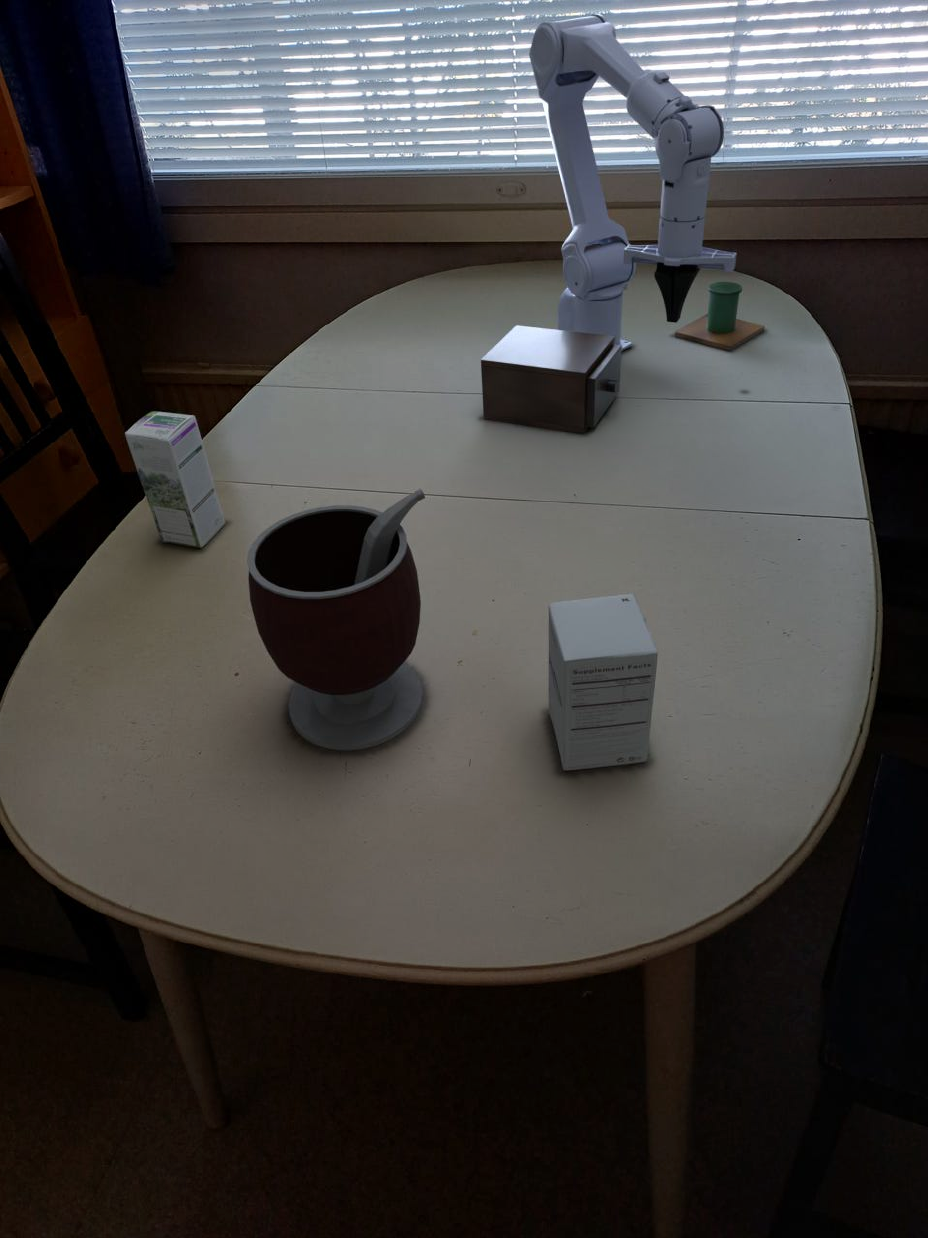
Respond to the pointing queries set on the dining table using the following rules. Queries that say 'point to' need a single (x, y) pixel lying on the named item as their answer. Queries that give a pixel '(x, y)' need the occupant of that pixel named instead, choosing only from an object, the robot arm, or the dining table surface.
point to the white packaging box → (601, 681)
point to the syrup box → (176, 478)
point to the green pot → (723, 307)
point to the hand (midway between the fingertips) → (673, 319)
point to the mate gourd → (341, 620)
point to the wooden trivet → (723, 341)
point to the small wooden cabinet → (541, 377)
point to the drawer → (603, 385)
